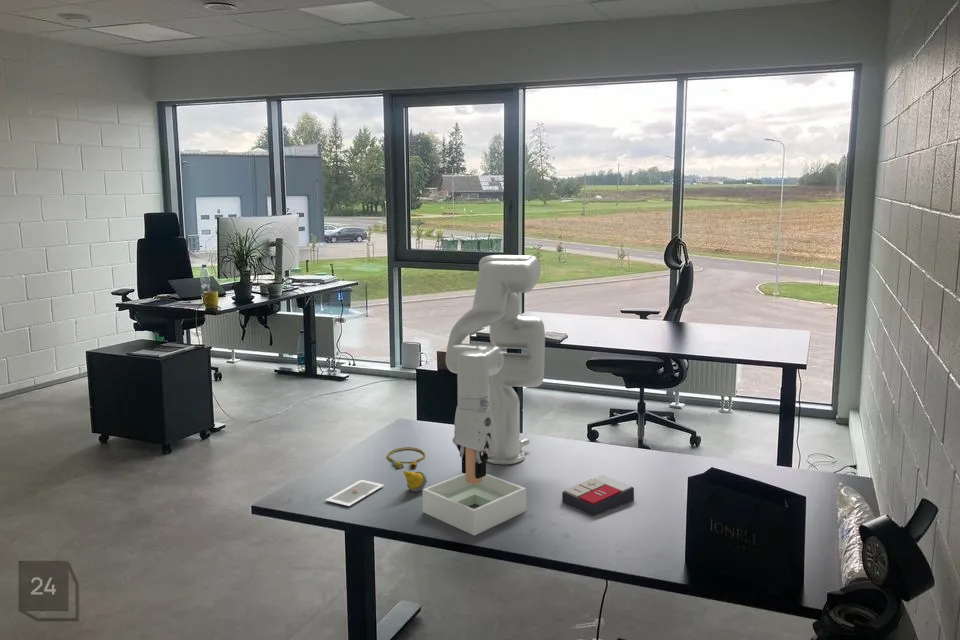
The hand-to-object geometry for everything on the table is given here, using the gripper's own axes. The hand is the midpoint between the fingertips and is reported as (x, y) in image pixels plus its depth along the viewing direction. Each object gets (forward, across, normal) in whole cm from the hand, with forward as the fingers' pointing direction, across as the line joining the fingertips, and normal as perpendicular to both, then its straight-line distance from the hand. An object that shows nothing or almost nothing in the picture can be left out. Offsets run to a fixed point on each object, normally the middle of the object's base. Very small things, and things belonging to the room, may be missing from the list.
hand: (474, 473), depth 180 cm
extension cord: (+10, +41, -12) cm, 43 cm away
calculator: (+10, -18, -26) cm, 34 cm away
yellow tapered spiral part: (+10, +20, +2) cm, 23 cm away
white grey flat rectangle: (+11, +30, +14) cm, 35 cm away
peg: (+2, 0, 0) cm, 2 cm away
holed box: (+10, 0, 0) cm, 10 cm away
